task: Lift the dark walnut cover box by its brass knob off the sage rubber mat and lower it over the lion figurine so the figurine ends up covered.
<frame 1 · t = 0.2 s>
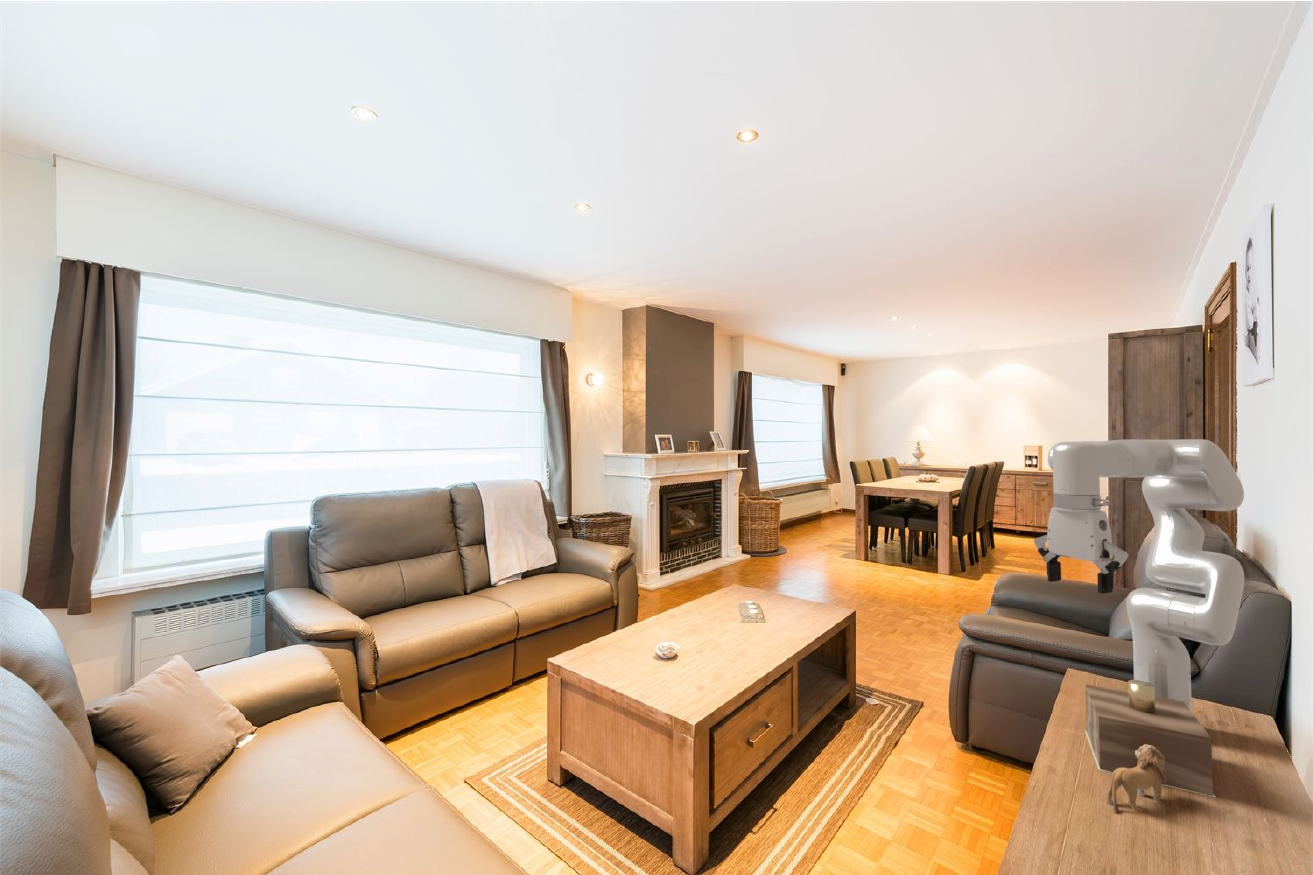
hand: (1078, 586, 109), 36 cm above the table, tool pointing down, fingers open, 9 cm apart
sage mat: (1143, 762, 109), on the table
walnut cover: (1143, 760, 109), resting on sage mat
lion figurine: (1136, 802, 98), on the table
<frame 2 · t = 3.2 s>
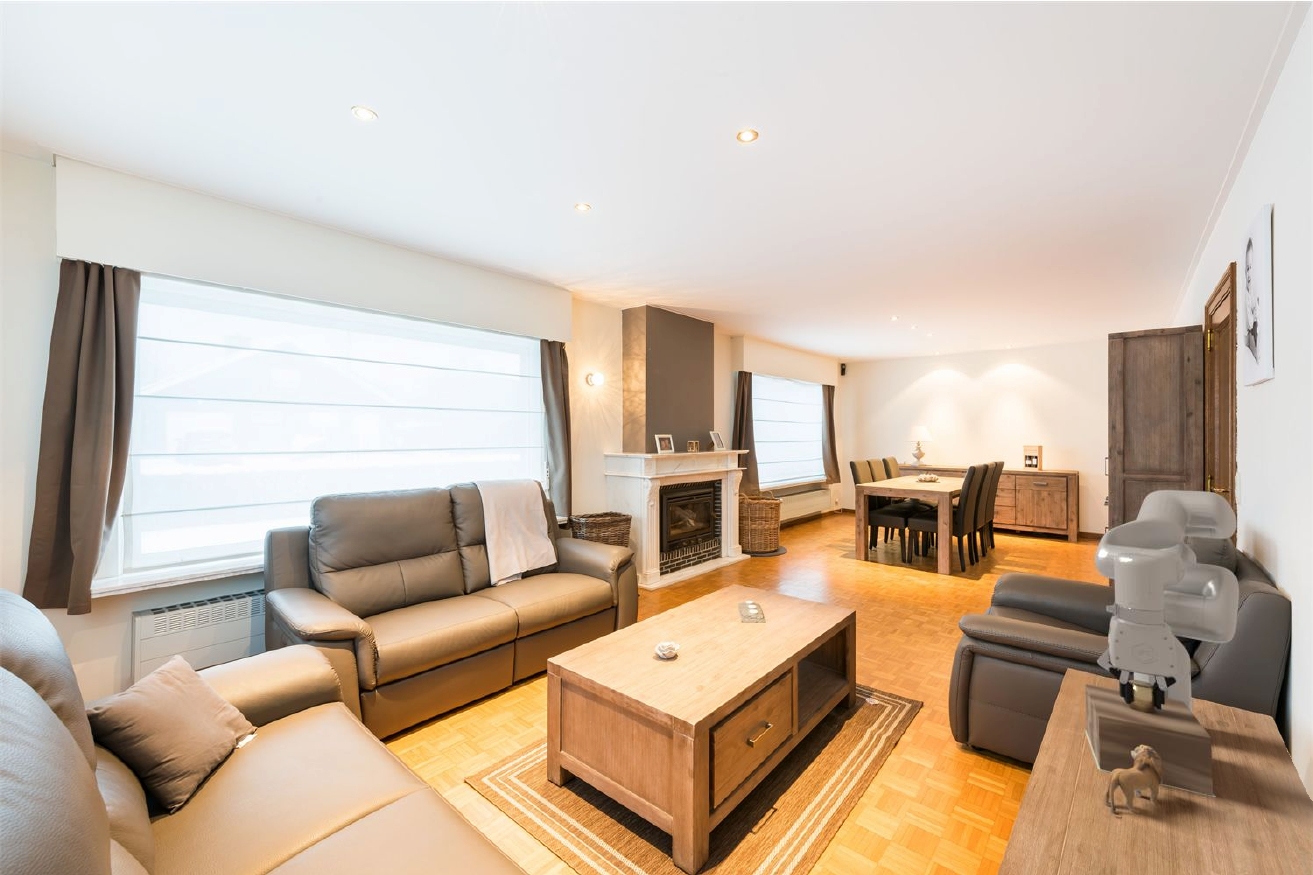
hand: (1141, 702, 110), 12 cm above the table, tool pointing down, fingers closed on walnut cover, 4 cm apart
walnut cover: (1143, 760, 109), resting on sage mat, touching gripper
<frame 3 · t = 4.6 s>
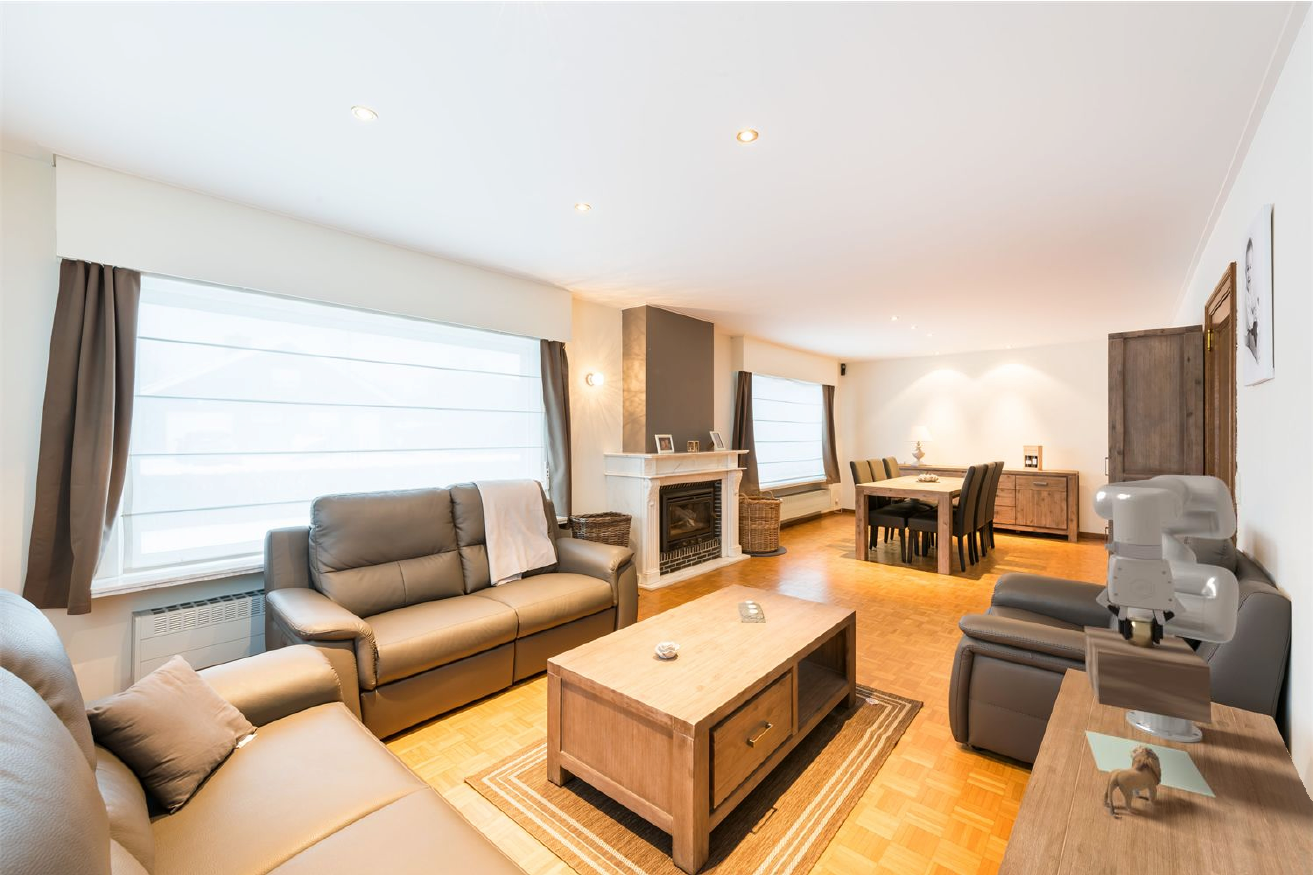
hand: (1140, 638, 110), 25 cm above the table, tool pointing down, fingers closed on walnut cover, 4 cm apart
walnut cover: (1142, 695, 110), point 13 cm above the table, touching gripper
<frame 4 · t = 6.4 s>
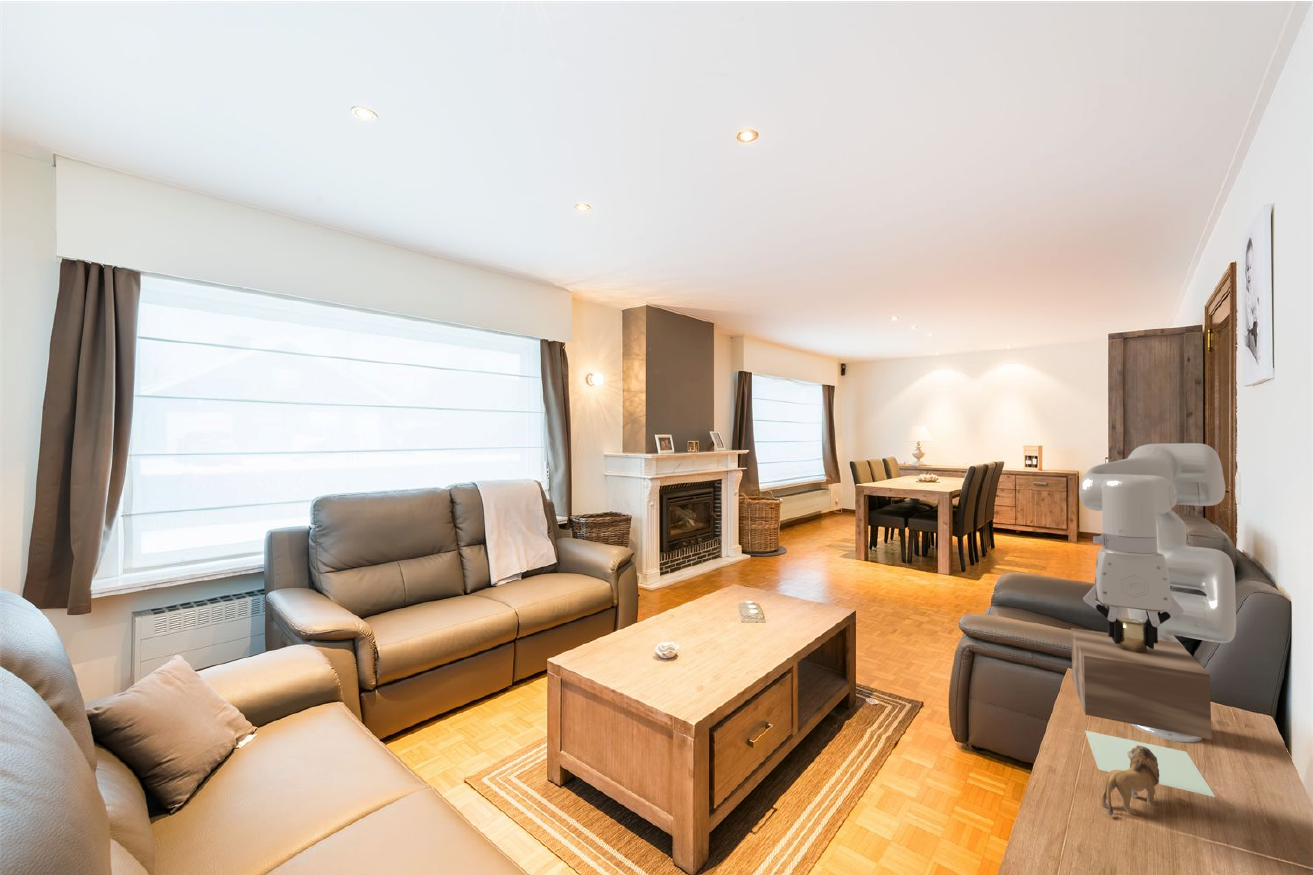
hand: (1132, 642, 98), 29 cm above the table, tool pointing down, fingers closed on walnut cover, 4 cm apart
walnut cover: (1134, 706, 98), point 17 cm above the table, touching gripper
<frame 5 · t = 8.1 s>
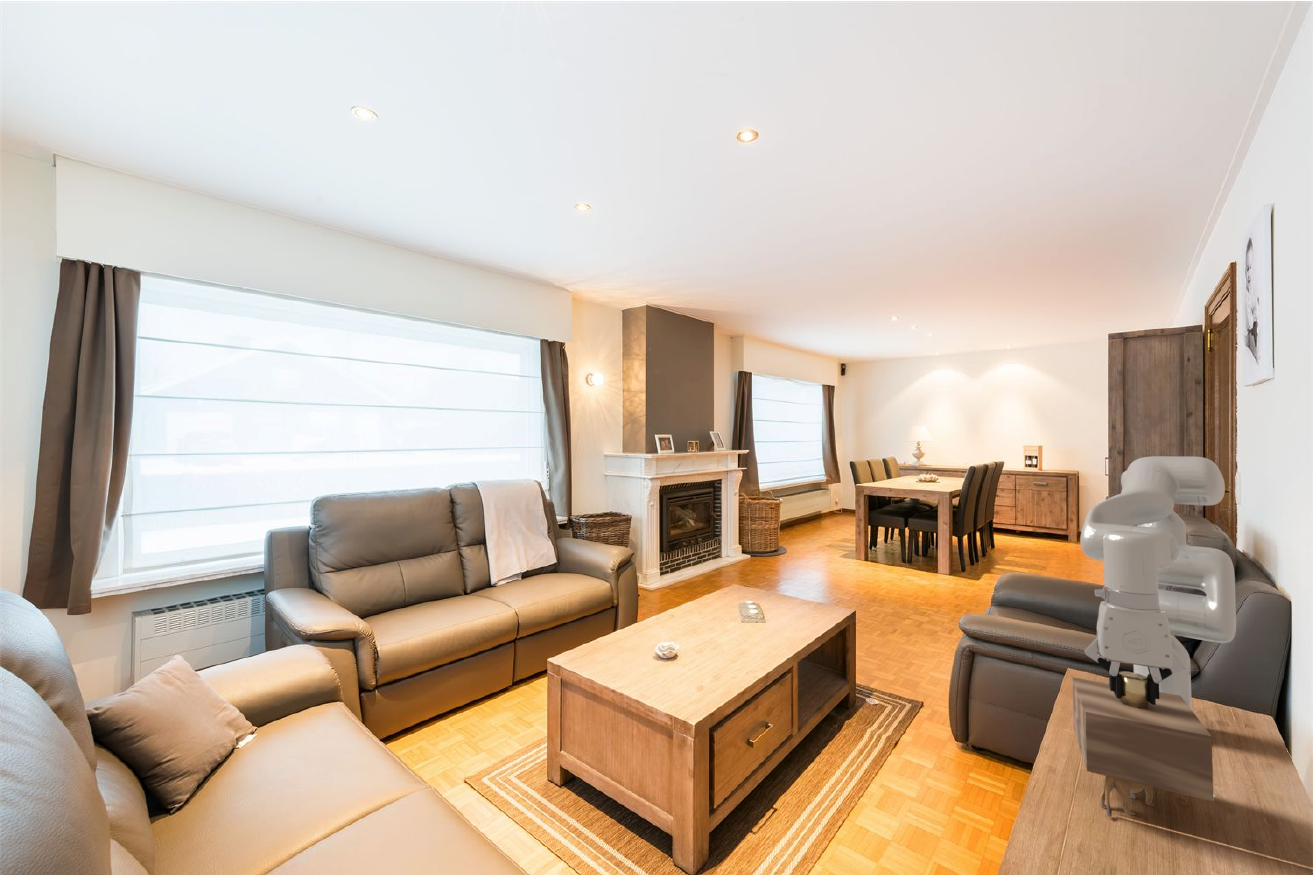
hand: (1133, 697, 98), 19 cm above the table, tool pointing down, fingers closed on walnut cover, 4 cm apart
walnut cover: (1135, 761, 98), point 7 cm above the table, touching gripper
when the fingers open (13 cm above the table, at t = 9.6 s): walnut cover stays where it is, resting on lion figurine, sage mat.
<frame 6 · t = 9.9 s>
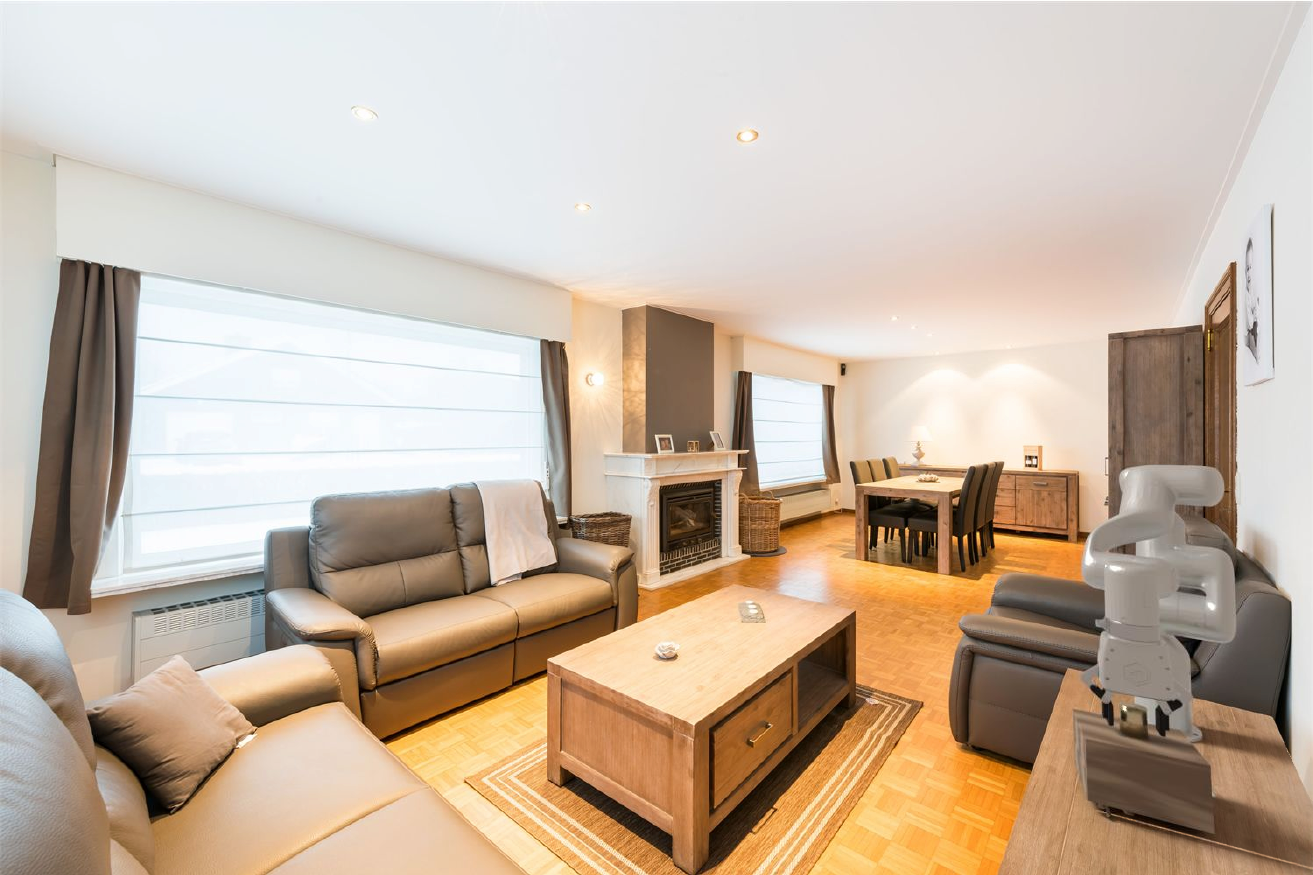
hand: (1134, 726, 98), 13 cm above the table, tool pointing down, fingers open, 6 cm apart
walnut cover: (1136, 794, 98), point 1 cm above the table, tilted 6°, touching lion figurine, sage mat
lion figurine: (1126, 805, 97), on the table, touching walnut cover
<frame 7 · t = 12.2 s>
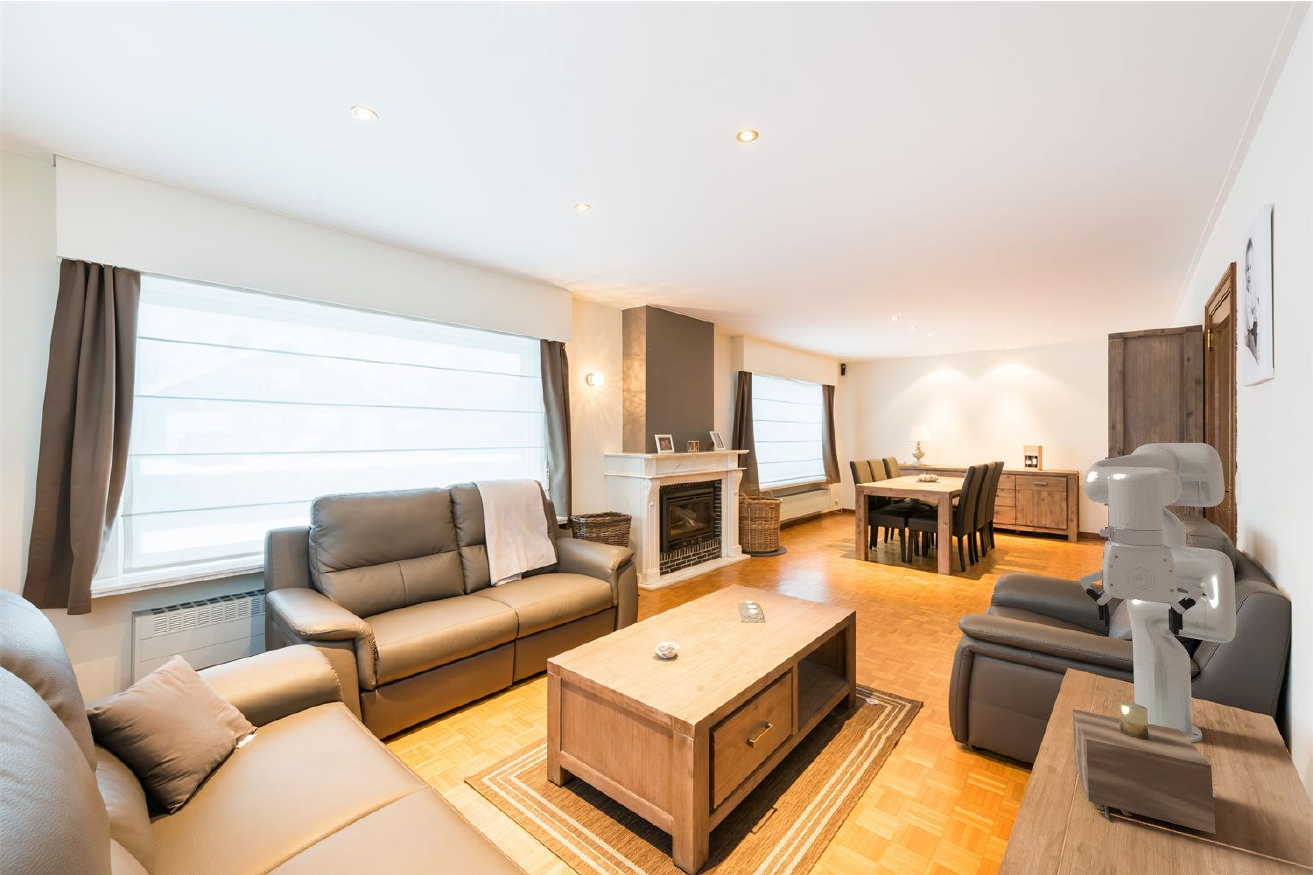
hand: (1138, 628, 99), 31 cm above the table, tool pointing down, fingers open, 9 cm apart
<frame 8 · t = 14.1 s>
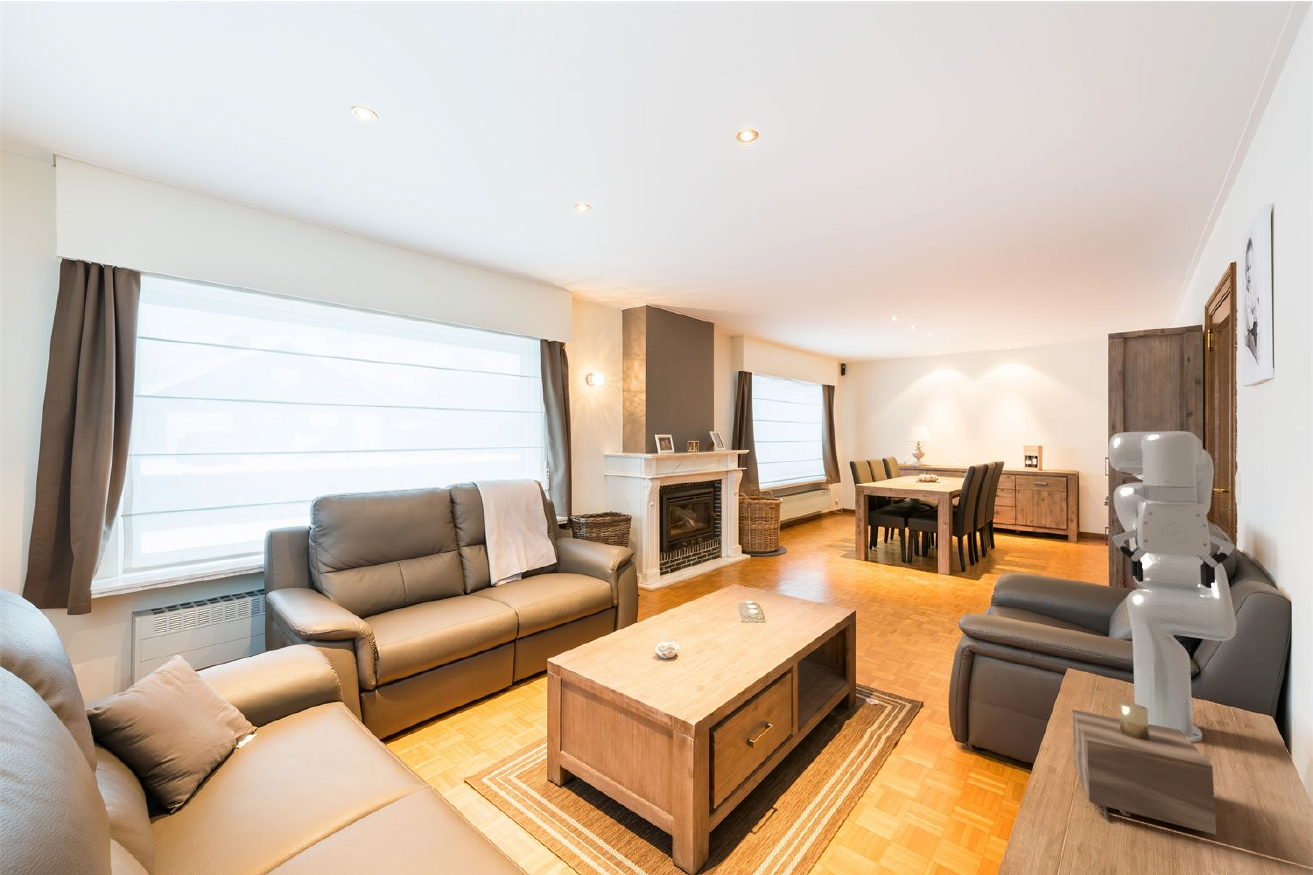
hand: (1171, 583, 104), 38 cm above the table, tool pointing down, fingers open, 9 cm apart
nothing on the table moved.
at the end: walnut cover 3.3 cm from the lion figurine (horizontally); walnut cover point 1.2 cm above the table; walnut cover tilted 6° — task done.
